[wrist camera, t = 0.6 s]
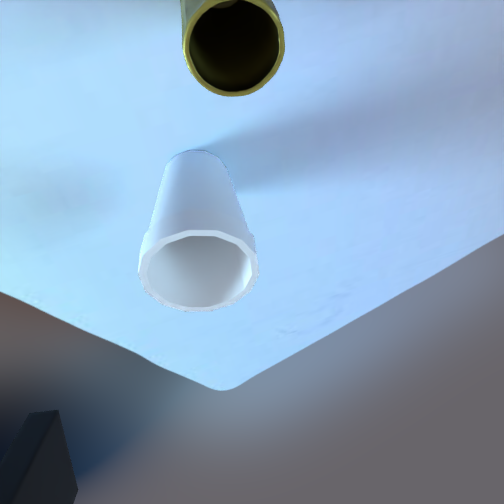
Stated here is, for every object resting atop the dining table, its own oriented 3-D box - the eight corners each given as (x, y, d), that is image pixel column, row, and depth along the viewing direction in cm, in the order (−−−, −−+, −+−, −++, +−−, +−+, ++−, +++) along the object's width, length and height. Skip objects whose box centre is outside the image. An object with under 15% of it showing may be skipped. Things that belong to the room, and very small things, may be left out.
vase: (275, -51, 33) (316, 18, 23) (238, 31, 37) (259, 121, 27) (195, -98, 31) (202, -44, 21) (163, -5, 35) (156, 79, 24)
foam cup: (159, 123, 42) (153, 217, 32) (256, 148, 45) (276, 241, 35) (139, 205, 48) (129, 304, 38) (226, 222, 51) (236, 318, 41)
